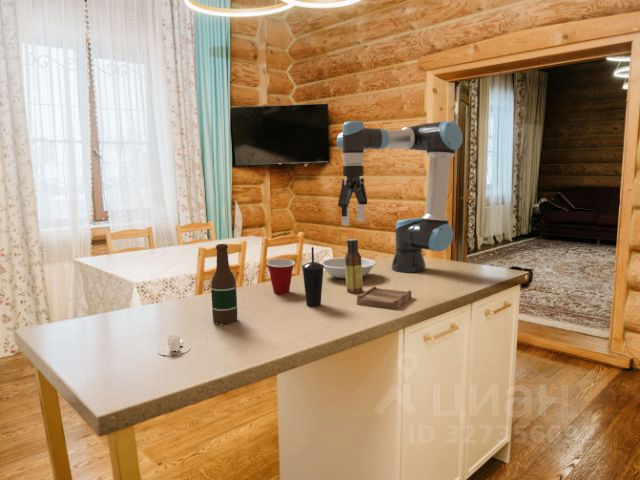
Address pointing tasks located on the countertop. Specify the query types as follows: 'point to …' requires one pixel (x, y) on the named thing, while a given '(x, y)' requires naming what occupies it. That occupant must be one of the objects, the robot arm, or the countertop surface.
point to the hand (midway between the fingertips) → (353, 223)
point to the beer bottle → (223, 289)
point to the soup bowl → (338, 266)
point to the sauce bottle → (353, 267)
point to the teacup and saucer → (174, 342)
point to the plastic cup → (281, 274)
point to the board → (383, 298)
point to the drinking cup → (313, 282)
